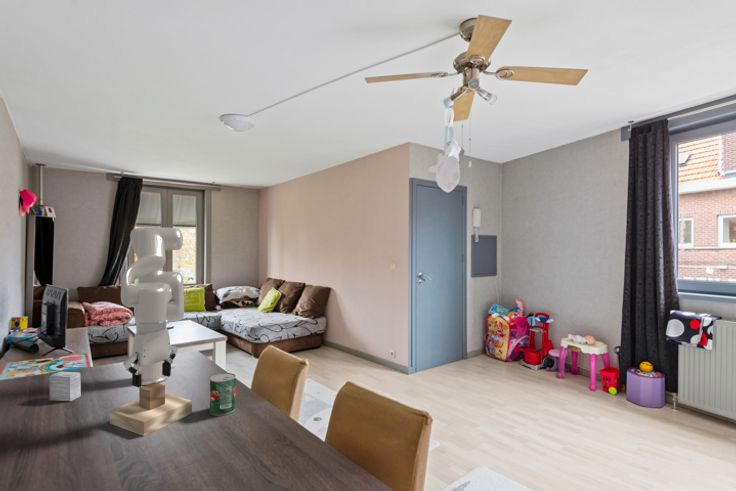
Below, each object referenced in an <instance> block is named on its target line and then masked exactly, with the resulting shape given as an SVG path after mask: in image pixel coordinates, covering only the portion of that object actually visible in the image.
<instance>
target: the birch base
mask: <svg viewBox="0 0 736 491" xmlns="http://www.w3.org/2000/svg"><path fill="white" fill-rule="evenodd" d="M192 413H193V400H190V399H186V398H183V397H179V396H176V395H172V394H168V393H165V404H164V405H161V406H159V407H157V408H154V409H152V410H147V409H144V408H141V407H139V399H136V400H134V401H130V402H129V403H126V404H123V405H120V406H118V407H115V408H113V409H111V410H109V425H112V426H115V427H118V428H120V429H123V430H126V431H128V432H129V431H130V432H133V433H134V434H137V435H140V436H143V437H145V436H148V435H150V434H151V433H154V432H156V431H158V430H161V429H162V428H164V427H166V426H168V425H170V424H172V423H174V422H176V421H179V420H181V419H183V418H186V417H187V416H189V415H192Z"/></svg>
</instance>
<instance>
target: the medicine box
mask: <svg viewBox="0 0 736 491" xmlns="http://www.w3.org/2000/svg"><path fill="white" fill-rule="evenodd" d="M48 382H49V401H58V402H61V401H62V402H72V401H74V400H77V399H79V398H80V397H81V396H82V395H81V394H82V393H81V392H82V390H81V388H82V387H81V372H74V371H59V372H56V373H54V374H53V373H52V374H51V375H50V376H49V380H48Z"/></svg>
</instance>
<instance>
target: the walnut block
mask: <svg viewBox="0 0 736 491" xmlns="http://www.w3.org/2000/svg"><path fill="white" fill-rule="evenodd" d="M138 389H139V391H138V392H139V395H138V396H139V397H138V400H139V407H141V408H144V409H147V410H152V409H154V408H157V407H159V406H161V405H164V404H165V394H166V384H163V383H160V382H159V383H155V382H154V383H151V384H148V385H142V386H141V387H139V388H138Z"/></svg>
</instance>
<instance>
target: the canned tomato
mask: <svg viewBox="0 0 736 491" xmlns="http://www.w3.org/2000/svg"><path fill="white" fill-rule="evenodd" d="M236 380H237V379H236V374H235V373H231V372H223V373H217V374H214V375H211V377H209V414H210V415H212V416H215V417H221V416H222V417H223V416H226V415H230V414H232V413H233V412H235V410H236V389H237V387H236V382H237V381H236Z"/></svg>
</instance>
